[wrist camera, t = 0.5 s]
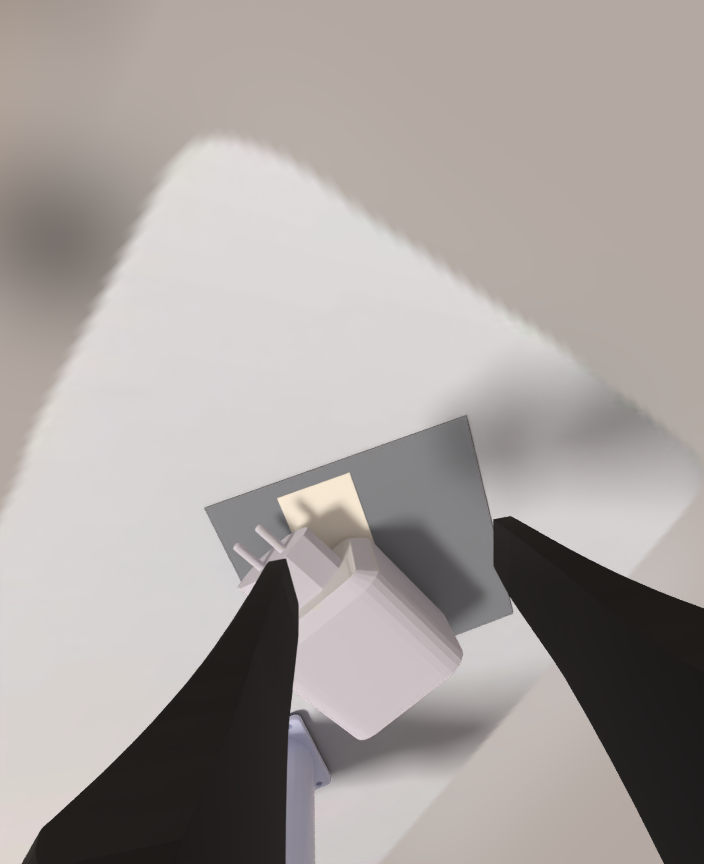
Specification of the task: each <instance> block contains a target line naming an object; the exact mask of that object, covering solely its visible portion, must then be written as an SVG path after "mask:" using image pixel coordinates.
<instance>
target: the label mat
mask: <svg viewBox="0 0 704 864" xmlns="http://www.w3.org/2000/svg"><path fill="white" fill-rule="evenodd" d="M204 509H205V511H206V513H207V515H208V517H209V519H210V521H211V523H212V525H213V527H214V529H215V531H216V533H217V535H218V537H219V539H220V541H221V543H222V545H223V547H224V549H225V551H226V553H227V555H228V557H229V559H230V561H231V562H232V564H233V566H234V568H235V570H236V572H237V574H238V576H239V578H240V580H241V581H242V580H243V578H244V577H245V576H246V575H247V573H248V572H249V571H250V570H251V569H252V568H253V567H254V566H252V565H251V564H250V563H249V562H248V561H246V560H245V559H244V558H243V557H242V556H241V555H239V554H238V553H237V552H236V551H235V550H234V546H235V544H236V543H241V544H242V545H243V546H245V547H246V548H247V549H248V550H249V551H250V552H252V553H253V554H254V555H255V556H256V557H257V558H258V559H261V557H263V556H264V555H265V554H266V553H267V552H269V551H270V550H271V549H272V548H273V546H272V545H270V544H269V543H268V542H267V541H266V540H265V539H264V538H263V537H262V536H260V535H259V534H258V533H257V532H256V531H255V528H256V527H257V525H259V524H262V525H263V526H264V527H265V528H267V529H268V530H269V531H270V532H271V533H272V534H273V535H274V536H275V537H276V538H278V539H279V540H280V541H281V540H283V539H284V538H285V537H286V536H287V535H289V534H291V533H293V532H295V531H297V530H299V529H301V528H309V529H310V530H311V531H312V532H313V533H314V534H315V535H316V536H317V537H318V538H319V539H320V540H321V541H323V542H324V543H325V544H326V545H327V546H328V547H329V548H330V549H331V550H333V549H334V548H335V547H336V546H337V545H339V544H340V543H341V542H342V541H344V540H346V539H349V538H369V539H370V540H371V541H372V542H373V543H374V544H375V545H376V546H377V547H378V548H379V549H380V550H381V551H382V552H383V553H384V554H385V555H386V556H387V557H388V558H389V559H390V560H391V561H392V562H393V563H394V564H395V565H396V566H397V567H398V568H399V569H400V570H401V571H402V572H403V573H404V574H405V575H406V576H407V577H408V578H409V579H410V580H411V581H412V582H413V583H414V584H415V585H416V586H417V587H418V588H419V589H420V590H421V591H422V592H423V593H424V594H425V596H426V597H427V598H428V599H429V600H430V601H431V602H432V603H433V604H434V605H435V606H436V607H437V608H438V609H439V610H440V611H441V612H442V613H443V614H444V615H445V617H446V619H447V621H448V623H449V625H450V627H451V629H452V631H453V633H454V635H458V634H461V633H463V632H466V631H468V630H471V629H474V628H476V627H479V626H482V625H484V624H487V623H490V622H492V621H495V620H497V619H500V618H503V617H505V616H508V615H511V614H513V612H512V608H511V604H510V600H509V595H508V593H507V591H506V589H505V587H504V586H503V584H502V582H501V580H500V578H499V576H498V574H497V572H496V570H495V568H494V566H493V527H492V523H491V519H490V515H489V510H488V506H487V502H486V498H485V493H484V489H483V485H482V481H481V476H480V472H479V468H478V464H477V459H476V455H475V451H474V447H473V442H472V438H471V434H470V430H469V425H468V421H467V417H466V416H463V417H460V418H457V419H454V420H452V421H449V422H446V423H443V424H440V425H437V426H435V427H432V428H429V429H426V430H423V431H420V432H418V433H415V434H412V435H409V436H406V437H403V438H401V439H398V440H395V441H392V442H389V443H387V444H384V445H381V446H378V447H375V448H372V449H370V450H367V451H364V452H361V453H358V454H355V455H353V456H350V457H347V458H344V459H341V460H338V461H336V462H333V463H330V464H327V465H324V466H321V467H319V468H316V469H313V470H310V471H307V472H305V473H302V474H299V475H296V476H293V477H290V478H288V479H285V480H282V481H279V482H276V483H273V484H271V485H268V486H265V487H262V488H259V489H256V490H254V491H251V492H248V493H245V494H242V495H239V496H237V497H234V498H231V499H228V500H225V501H222V502H220V503H217V504H214V505H211V506H208V507H206V508H204Z"/></svg>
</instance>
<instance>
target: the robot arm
mask: <svg viewBox="0 0 704 864" xmlns="http://www.w3.org/2000/svg"><path fill="white" fill-rule="evenodd" d="M493 566H494V568H495V570H496V572H497V574H498V576H499V578H500V580H501V582H502V584H503V586H504V587H505V589H506V591H507V593H508V595H509V596H510V598H511V599H512V601H513V602H514V604H515V605H516V607H517V608H518V609H519V611H520V612H521V614H522V615H523V617H524V618H525V620H526V621H527V623H528V624H529V625H530V627H531V628H532V630H533V631H534V633H535V634H536V636H537V637H538V638H539V640H540V641H541V643H542V644H543V646H544V647H545V649H546V650H547V651H548V653H549V654H550V656H551V657H552V659H553V660H554V662H555V663H556V665H557V666H558V668H559V669H560V671H561V672H562V674H563V675H564V677H565V679H566V681H567V682H568V684H569V686H570V688H571V689H572V691H573V693H574V695H575V696H576V698H577V700H578V701H579V703H580V705H581V707H582V708H583V710H584V712H585V714H586V715H587V717H588V719H589V721H590V723H591V724H592V726H593V728H594V730H595V732H596V734H597V735H598V737H599V739H600V741H601V742H602V744H603V746H604V748H605V750H606V752H607V754H608V755H609V757H610V759H611V761H612V763H613V765H614V767H615V769H616V771H617V772H618V774H619V776H620V778H621V780H622V782H623V784H624V786H625V788H626V789H627V791H628V793H629V795H630V797H631V799H632V801H633V803H634V805H635V807H636V808H637V811H638V813H639V815H640V817H641V819H642V821H643V823H644V825H645V827H646V828H647V831H648V832H649V835H650V837H651V838H652V841H653V843H654V845H655V847H656V848H657V850H658V853H659V855H660V857H661V859H662V861H663V863H664V864H704V608H701V607H699V606H696V605H693V604H690V603H688V602H685V601H682V600H679V599H677V598H674V597H672V596H669V595H666V594H664V593H661V592H659V591H657V590H654V589H652V588H650V587H647V586H645V585H643V584H640V583H638V582H636V581H633V580H631V579H629V578H627V577H624V576H622V575H620V574H618V573H616V572H614V571H612V570H609V569H607V568H605V567H603V566H601V565H599V564H597V563H595V562H593V561H591V560H589V559H587V558H585V557H584V556H582V555H580V554H578V553H576V552H574V551H572V550H570V549H568V548H567V547H565V546H563V545H561V544H559V543H558V542H556V541H554V540H552V539H550V538H549V537H547V536H545V535H543V534H542V533H540V532H538V531H536V530H535V529H533V528H531V527H529V526H528V525H526V524H524V523H522V522H521V521H519V520H517V519H515V518H513V517H511V516H509V517H503V518H498V519H493ZM298 636H299V603H298V599H297V596H296V592H295V588H294V585H293V581H292V578H291V574H290V570H289V567H288V563H287V560H286V558H285V559H279V560H274V561H269V562H268V563H267V564H266V565H265V567H264V569H263V570H262V572H261V574H260V576H259V578H258V579H257V581H256V583H255V584H254V586H253V588H252V590H251V591H250V593H249V595H248V596H247V598H246V600H245V601H244V603H243V604H242V606H241V608H240V609H239V611H238V612H237V614H236V616H235V617H234V619H233V620H232V622H231V623H230V625H229V626H228V628H227V629H226V631H225V632H224V634H223V635H222V636H221V638H220V639H219V641H218V642H217V644H216V645H215V647H214V648H213V649H212V651H211V652H210V653H209V655H208V656H207V657H206V659H205V660H204V661H203V663H202V664H201V665H200V667H199V668H198V669H197V670H196V672H195V673H194V674H193V676H192V677H191V678H190V679H189V681H188V682H187V683H186V684H185V685H184V687H183V688H182V689H181V690H180V691H179V692H178V694H177V695H176V696H175V697H174V698H173V699H172V700H171V702H170V703H169V704H168V705H167V706H166V707H165V708H164V710H163V711H162V712H161V713H160V714H159V715H158V716H157V717H156V719H155V720H154V721H153V722H152V723H151V724H150V725H149V726H148V727H147V728H146V729H145V730H144V731H143V732H142V733H141V735H140V736H139V737H138V738H137V739H136V740H135V741H134V742H133V743H132V744H131V745H130V746H129V747H128V748H127V749H126V750H125V751H124V752H123V753H122V754H121V755H120V756H119V757H118V758H117V759H116V760H115V761H114V762H113V763H112V764H111V765H110V766H109V767H108V768H107V769H106V770H105V771H104V772H103V773H102V774H101V775H99V776H98V777H97V778H96V779H95V780H94V781H93V782H92V783H91V784H90V785H89V786H88V787H87V788H85V789H84V790H83V791H82V792H81V793H80V794H79V795H78V796H77V797H76V798H75V799H74V800H72V801H71V802H70V803H69V804H68V805H67V806H66V807H65V808H64V809H63V810H62V811H61V812H59V813H58V814H57V815H56V816H55V817H54V818H53V819H52V820H51V821H50V822H48V823H47V824H46V825H45V826H44V827H43V828H42V829H41V831H40V832H39V834H38V836H37V837H36V839H35V841H34V843H33V844H32V846H31V848H30V850H29V852H28V853H27V855H26V857H25V859H24V860H23V862H22V864H315V808H314V790H315V789H318V788H320V787H323V786H326V785H328V784H329V783H330V781H331V776H330V773H329V771H328V769H327V767H326V765H325V763H324V761H323V759H322V757H321V755H320V753H319V751H318V749H317V748H316V746H315V744H314V742H313V740H312V738H311V736H310V734H309V732H308V730H307V728H306V726H305V724H304V722H303V720H302V718H301V717H300V716H299V715H292V716H290V709H291V700H292V691H293V682H294V673H295V664H296V655H297V646H298Z"/></svg>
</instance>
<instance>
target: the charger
mask: <svg viewBox="0 0 704 864" xmlns="http://www.w3.org/2000/svg"><path fill="white" fill-rule="evenodd" d="M255 531H256V532H257V533H258V534H259V535H260V536H262V537H263V538H264V539H265V540H266V541H267V542H268V543H269V544H270V545H272V546H273V548H272V549H271V550H270V551H269V552H267V553H266V554H265V555H264V556H263V557H261V559H258V558H257V557H256V556H255V555H254V554H253V553H252V552H250V551H249V550H248V549H247V548H246V547H245V546H243V545H242V544H241V543H236V544H235V546H234V550H235V551H236V552H237V553H238V554H239V555H241V556H242V557H243V558H244V559H245V560H246V561H248V562H249V563H250V564H251V565H252V566H254V567H253V568H252V569H251V570H250V571H249V572H248V573H247V575H246V576H245V577H244V578H243V580H242V581H241V583H240V584H239V586H238V588H239V589H240V590H242V591H243V592H244V593H245V594H247V595H249V593H250V591H251V590H252V588H253V586H254V584H255V583H256V581H257V579H258V578H259V576H260V574H261V572H262V570H263V569H264V567H265V565H266V564H267V563H268V562H269V561H274V560H279V559H285V558H286V560H287V563H288V567H289V570H290V574H291V578H292V581H293V585H294V588H295V592H296V596H297V599H298V603H299V636H298V646H297V655H296V664H295V673H294V682H293V691H294V692H295V693H296V694H298V695H299V696H300V697H302V698H303V699H304V700H306V701H307V702H308V703H310V704H311V705H312V706H314V707H315V708H316V709H318V710H319V711H320V712H322V713H323V714H324V715H326V716H327V717H328V718H330V719H331V720H332V721H334V722H335V723H336V724H338V725H339V726H340V727H342V728H343V729H344V730H346V731H347V732H348V733H350V734H351V735H352V736H354V737H355V738H357V739H358V740H365V739H368V738H371V737H372V736H374V735H375V734H377V733H378V732H379V731H381V730H382V729H383V728H384V727H386V726H387V725H388V724H390V723H391V722H392V721H393V720H395V719H396V718H397V717H399V716H400V715H401V714H402V713H404V712H405V711H406V710H408V709H409V708H410V707H411V706H413V705H414V704H415V703H417V702H418V701H419V700H420V699H422V698H423V697H424V696H425V695H427V694H428V693H429V692H431V691H432V690H433V689H434V688H436V687H437V686H438V685H440V684H441V683H442V682H443V681H445V680H446V679H447V678H448V677H449V676H451V675H452V674H453V673H454V671H455V670H456V669H457V668H458V666H459V664H460V662H461V660H462V656H463V652H462V649H461V647H460V645H459V643H458V641H457V639H456V637H455V635H454V633H453V631H452V629H451V627H450V625H449V623H448V621H447V619H446V617H445V615H444V614H443V613H442V612H441V611H440V610H439V609H438V608H437V607H436V606H435V605H434V604H433V603H432V602H431V601H430V600H429V599H428V598H427V597H426V596H425V594H424V593H423V592H422V591H421V590H420V589H419V588H418V587H417V586H416V585H415V584H414V583H413V582H412V581H411V580H410V579H409V578H408V577H407V576H406V575H405V574H404V573H403V572H402V571H401V570H400V569H399V568H398V567H397V566H396V565H395V564H394V563H393V562H392V561H391V560H390V559H389V558H388V557H387V556H386V555H385V554H384V553H383V552H382V551H381V550H380V549H379V548H378V547H377V546H376V545H375V544H374V543H373V542H372V541H371V540H370V539H369V538H349V539H346V540H344V541H342V542H341V543H340V544H339V545H337V546H336V547H335V548H334V549H333V550H331V549H330V548H329V547H328V546H327V545H326V544H325V543H324V542H323V541H321V540H320V539H319V538H318V537H317V536H316V535H315V534H314V533H313V532H312V531H311V530H310V529H309V528H301V529H299V530H297V531H295V532H293V533H291V534H289V535H287V536H286V537H285V538H284V539H283V540H281V541H280V540H279V539H278V538H276V537H275V536H274V535H273V534H272V533H271V532H270V531H269V530H268V529H267V528H265V527H264V526H263V525H262V524H259V525H257V527H256V528H255Z"/></svg>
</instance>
